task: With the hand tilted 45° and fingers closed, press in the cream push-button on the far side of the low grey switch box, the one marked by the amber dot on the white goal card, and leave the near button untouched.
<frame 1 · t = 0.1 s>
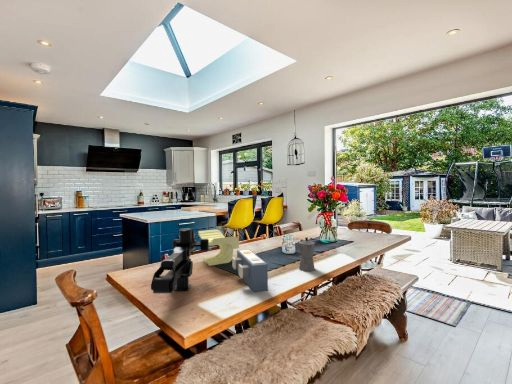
hand: (194, 241, 151), 17 cm above the table, tool horizontal, fingers open, 9 cm apart
coffeepot: (306, 268, 153), on the table
button far: (239, 262, 141), point 8 cm above the table, slide at 0.0 cm
switch box: (251, 280, 136), on the table
slatted curved stool: (218, 261, 171), on the table
button near: (246, 270, 127), point 7 cm above the table, slide at 0.0 cm
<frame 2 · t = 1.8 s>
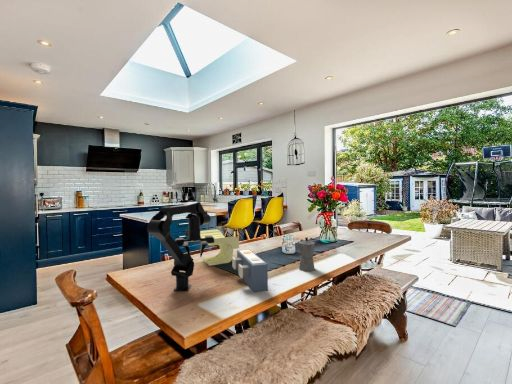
hand: (195, 257, 135), 12 cm above the table, tool pointing down, fingers open, 5 cm apart
nothing on the table moved.
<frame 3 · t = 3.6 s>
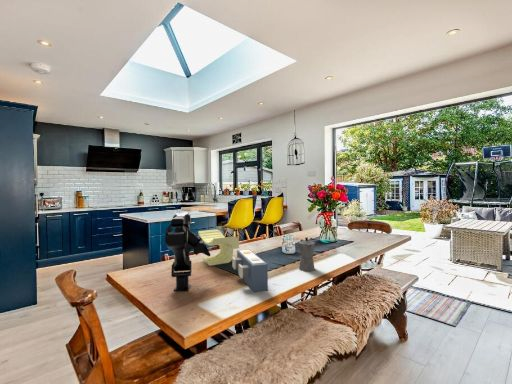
hand: (209, 255, 136), 13 cm above the table, tool tilted 45°, fingers closed
nothing on the table moved.
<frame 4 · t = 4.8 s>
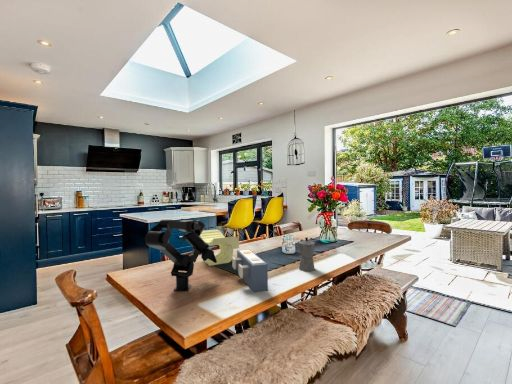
hand: (216, 262, 139), 8 cm above the table, tool tilted 40°, fingers closed
nothing on the table moved.
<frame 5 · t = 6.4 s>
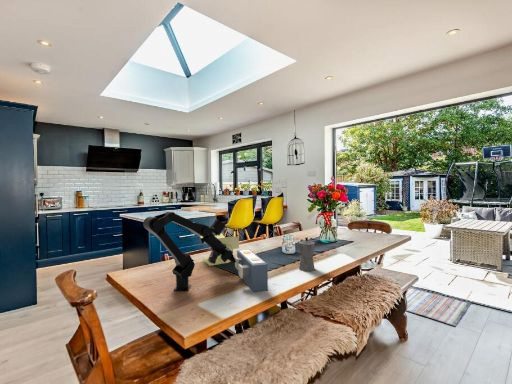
hand: (235, 261, 140), 8 cm above the table, tool tilted 45°, fingers closed, pressing on button far
button far: (242, 262, 141), point 8 cm above the table, slide at 1.4 cm, touching gripper
everything else where it was.
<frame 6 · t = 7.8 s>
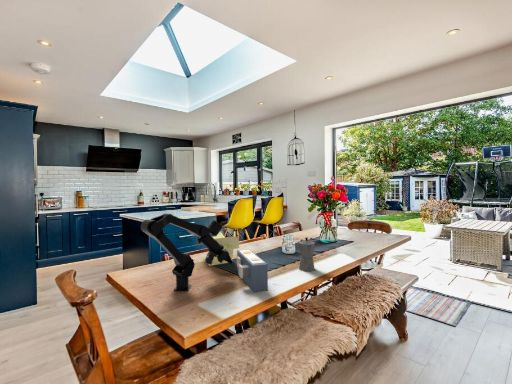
hand: (231, 263, 140), 7 cm above the table, tool tilted 45°, fingers closed
button far: (244, 262, 142), point 8 cm above the table, slide at 2.6 cm
everything else where it was.
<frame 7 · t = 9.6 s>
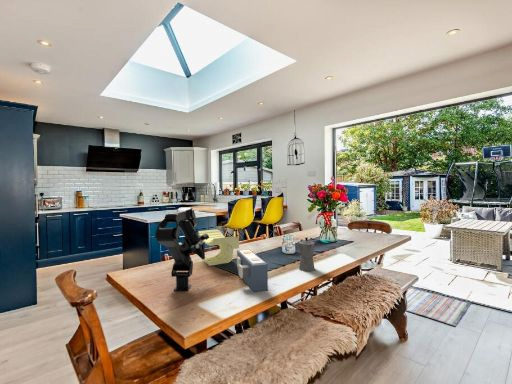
hand: (203, 259, 134), 11 cm above the table, tool tilted 25°, fingers closed
nothing on the table moved.
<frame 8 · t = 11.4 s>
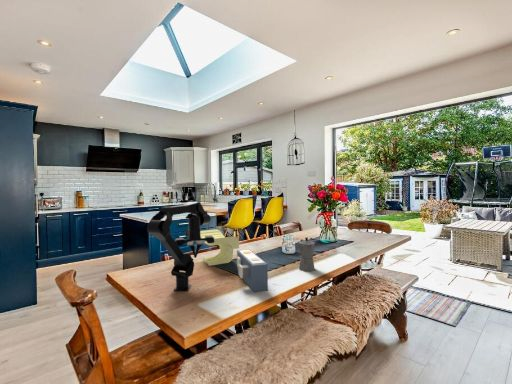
hand: (195, 257, 135), 12 cm above the table, tool pointing down, fingers closed
nothing on the table moved.
at the end: button far slide at 2.6 cm; button near slide at 0.0 cm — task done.
